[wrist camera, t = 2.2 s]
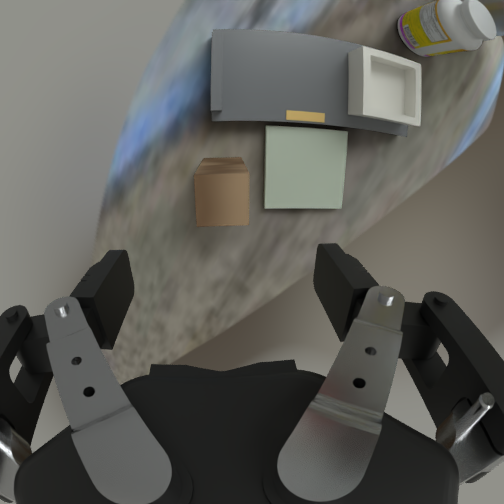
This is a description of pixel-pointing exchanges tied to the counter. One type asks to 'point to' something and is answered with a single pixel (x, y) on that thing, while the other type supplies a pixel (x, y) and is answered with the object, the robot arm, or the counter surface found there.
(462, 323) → the robot arm
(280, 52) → the switch panel
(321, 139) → the tool rest
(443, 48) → the supplement bottle
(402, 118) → the tab
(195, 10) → the counter surface
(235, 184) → the peg
